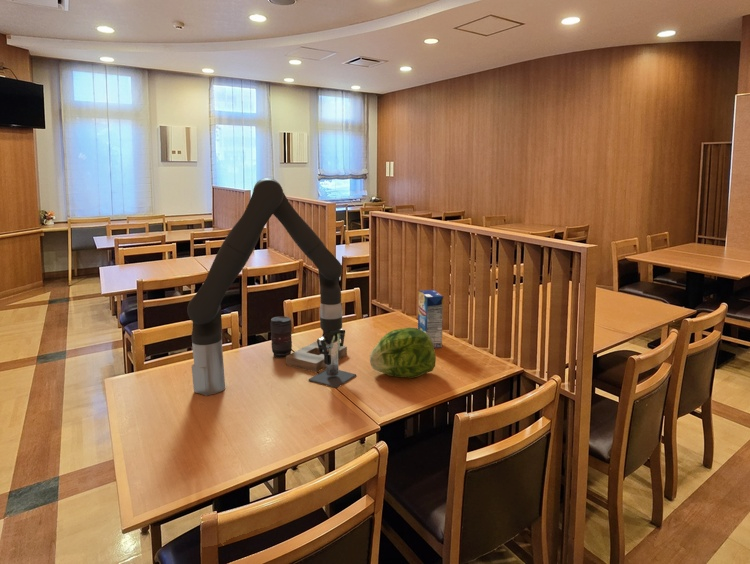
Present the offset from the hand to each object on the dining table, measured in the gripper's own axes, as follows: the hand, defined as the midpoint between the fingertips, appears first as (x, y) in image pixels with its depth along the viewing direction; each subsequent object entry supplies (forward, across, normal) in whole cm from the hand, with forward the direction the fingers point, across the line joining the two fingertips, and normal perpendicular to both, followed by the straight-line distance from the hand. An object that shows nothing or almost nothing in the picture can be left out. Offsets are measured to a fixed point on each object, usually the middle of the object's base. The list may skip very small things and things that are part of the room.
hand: (332, 361), depth 174 cm
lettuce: (+6, +15, -20) cm, 26 cm away
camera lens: (+6, +8, +30) cm, 32 cm away
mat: (+6, 0, 0) cm, 6 cm away
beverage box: (+6, +49, -15) cm, 52 cm away
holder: (+6, +11, +15) cm, 20 cm away
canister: (+4, 0, 0) cm, 4 cm away
